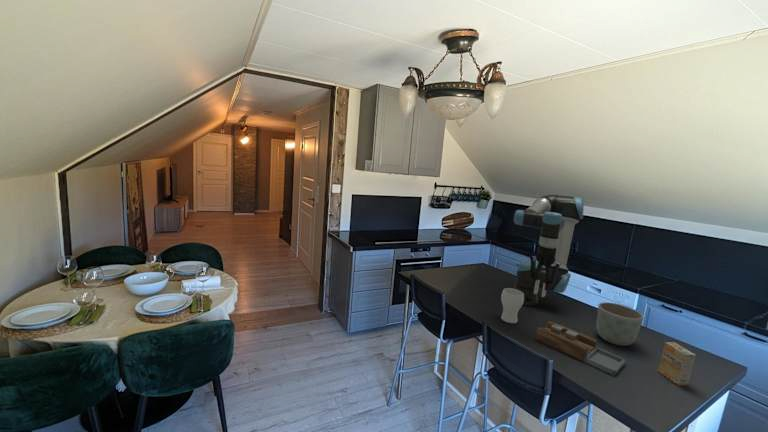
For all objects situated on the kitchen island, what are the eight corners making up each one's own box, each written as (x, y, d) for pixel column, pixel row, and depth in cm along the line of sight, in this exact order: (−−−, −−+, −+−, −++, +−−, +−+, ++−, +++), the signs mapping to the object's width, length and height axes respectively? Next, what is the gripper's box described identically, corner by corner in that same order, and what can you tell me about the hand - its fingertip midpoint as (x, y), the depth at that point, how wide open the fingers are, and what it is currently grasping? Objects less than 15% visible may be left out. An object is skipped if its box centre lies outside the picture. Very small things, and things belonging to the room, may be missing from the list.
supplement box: (657, 371, 130) (664, 341, 128) (668, 371, 130) (675, 341, 128) (677, 385, 122) (685, 354, 120) (688, 386, 122) (696, 354, 120)
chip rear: (553, 331, 150) (555, 323, 149) (562, 335, 147) (564, 327, 146) (549, 334, 147) (551, 326, 146) (559, 338, 144) (560, 330, 143)
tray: (595, 351, 141) (596, 346, 141) (624, 364, 133) (625, 359, 133) (583, 362, 132) (584, 357, 132) (614, 376, 124) (615, 371, 124)
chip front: (567, 337, 145) (568, 329, 144) (577, 342, 142) (578, 333, 141) (563, 340, 143) (565, 332, 142) (573, 344, 140) (575, 336, 139)
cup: (522, 326, 159) (526, 297, 156) (499, 322, 161) (503, 294, 158) (518, 316, 169) (522, 289, 167) (496, 313, 171) (500, 286, 169)
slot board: (547, 331, 156) (549, 320, 155) (594, 351, 141) (597, 340, 140) (535, 339, 148) (537, 328, 147) (583, 361, 133) (586, 349, 132)
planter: (628, 336, 158) (634, 306, 155) (643, 354, 142) (650, 322, 139) (588, 328, 163) (594, 299, 160) (598, 345, 147) (604, 313, 144)
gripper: (526, 242, 151) (519, 290, 155) (562, 251, 139) (553, 303, 143) (534, 241, 156) (526, 287, 160) (569, 249, 144) (560, 299, 148)
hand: (539, 294), depth 152 cm, fingers open, 3 cm apart
